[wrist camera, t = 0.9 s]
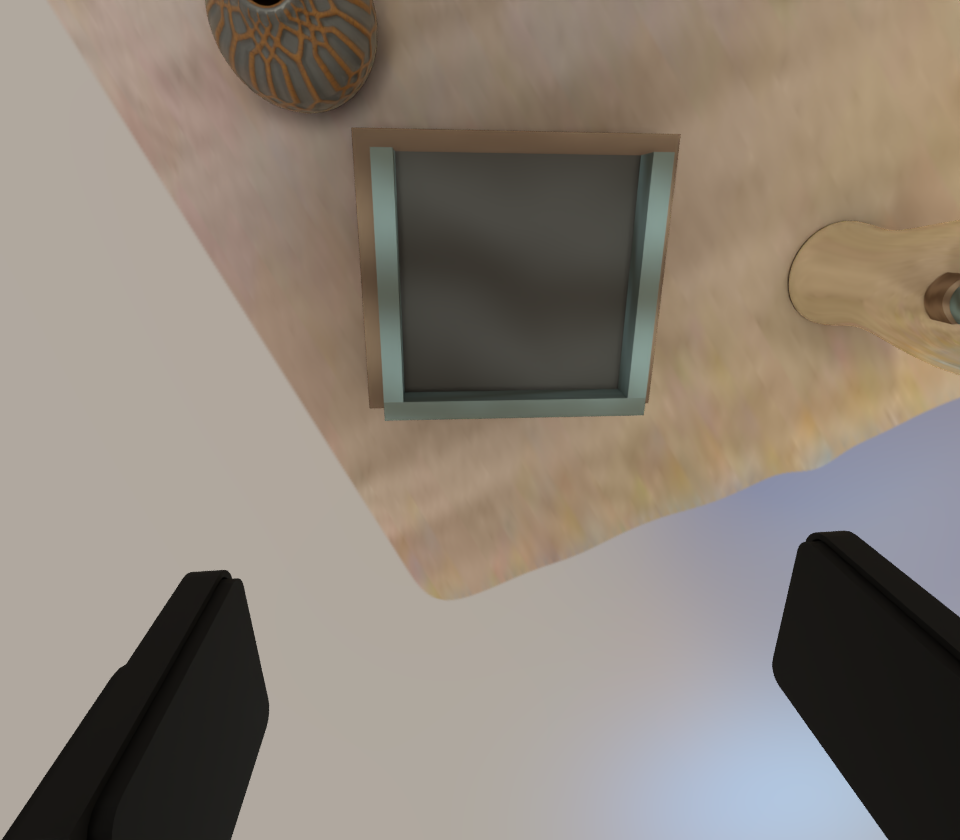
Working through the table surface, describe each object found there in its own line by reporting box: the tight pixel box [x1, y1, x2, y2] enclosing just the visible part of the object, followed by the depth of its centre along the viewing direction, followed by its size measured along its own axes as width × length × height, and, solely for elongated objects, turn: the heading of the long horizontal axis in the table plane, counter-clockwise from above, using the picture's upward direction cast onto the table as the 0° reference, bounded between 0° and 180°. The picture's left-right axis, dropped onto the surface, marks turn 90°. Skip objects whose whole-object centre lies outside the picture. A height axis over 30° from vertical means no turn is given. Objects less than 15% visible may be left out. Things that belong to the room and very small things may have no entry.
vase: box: [205, 0, 377, 113], centre depth 23 cm, size 7×7×9 cm
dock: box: [351, 128, 681, 421], centre depth 30 cm, size 14×16×5 cm
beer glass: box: [789, 220, 960, 376], centre depth 27 cm, size 7×7×15 cm
